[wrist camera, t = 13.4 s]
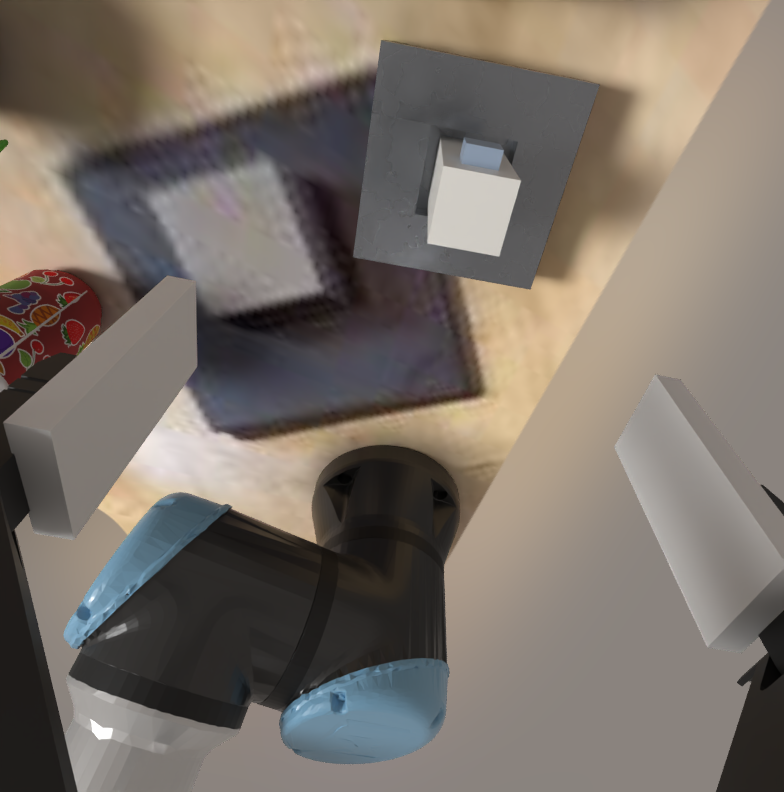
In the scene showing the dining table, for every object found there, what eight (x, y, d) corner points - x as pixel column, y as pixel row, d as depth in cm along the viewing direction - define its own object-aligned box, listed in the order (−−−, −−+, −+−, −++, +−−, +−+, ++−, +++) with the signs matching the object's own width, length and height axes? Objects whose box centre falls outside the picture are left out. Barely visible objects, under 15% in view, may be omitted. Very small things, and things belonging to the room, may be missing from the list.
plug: (483, 207, 37) (499, 256, 29) (427, 197, 37) (427, 243, 29) (503, 130, 34) (527, 159, 26) (443, 118, 34) (447, 144, 26)
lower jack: (524, 274, 41) (530, 289, 38) (357, 243, 40) (353, 257, 38) (587, 81, 33) (599, 84, 31) (384, 40, 33) (381, 40, 30)
